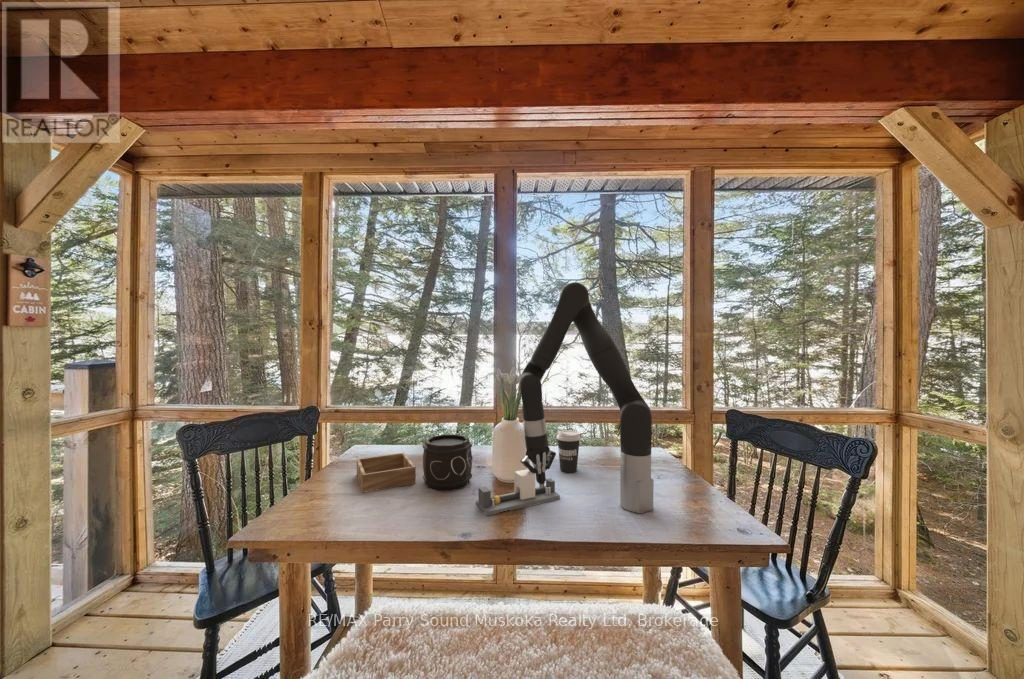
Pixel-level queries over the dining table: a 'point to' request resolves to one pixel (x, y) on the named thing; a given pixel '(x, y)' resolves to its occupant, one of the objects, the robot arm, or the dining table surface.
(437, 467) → the black canister
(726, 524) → the dining table surface
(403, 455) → the box
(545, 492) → the gray slide rail base
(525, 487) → the sleeve
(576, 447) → the coffee cup
